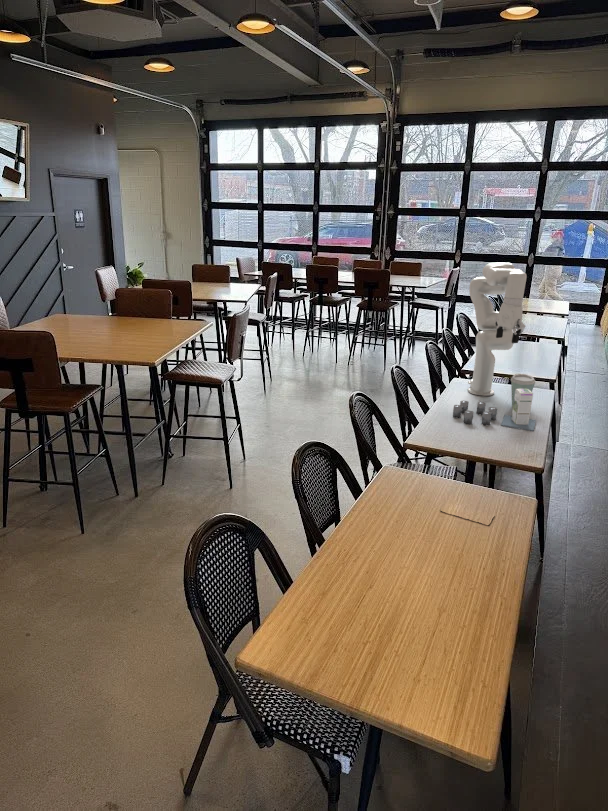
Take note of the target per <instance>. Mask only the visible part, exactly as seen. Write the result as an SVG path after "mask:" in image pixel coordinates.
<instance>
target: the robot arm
mask: <svg viewBox="0 0 608 811" xmlns="http://www.w3.org/2000/svg"><path fill="white" fill-rule="evenodd" d="M526 282H527V273H525V272H524V271H523V270H521V269H517V268H515V265H514V264H513V263H511V262H489V263H487V264H485V265H484V267H483V268H482V276H477V277H475V278H472V279H471V281H470V282H469V288H468V290H469V296H470V299H471V302H472V304H473V306H474V312H475V322H476V325H477V328H478V330H480V331H478V332H477V334H476V335H475V358H474V365H473V366H474V367H473V371H472V372H473V373H472V379H470V380H468V382H467V384H469V385H470V387H468V388H467V392H468V393H469V394H473V395H475V396H481V397H487V396H493V395H494V394H495V390H493V389H492V385H493V380H494V379H493V378H494V372H495V367H496V357H495V354H494V353H493V352H492V351H495V350H496V351H508V350H511V349H512V348H513V347H514V344H518V343H519V339H520V335H521V334H522V333H523V332H524V330H525V329H526V325H525V323H523V302H524V301H523V300H524V294H525V289H526ZM503 294H504V297H503V302H502V303H501V305H500V308H499V311H495V310H494V307H493V303H492V301H491V300H490V299H489V298H488V296H486V295H498V296H499V295H503Z"/></svg>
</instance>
